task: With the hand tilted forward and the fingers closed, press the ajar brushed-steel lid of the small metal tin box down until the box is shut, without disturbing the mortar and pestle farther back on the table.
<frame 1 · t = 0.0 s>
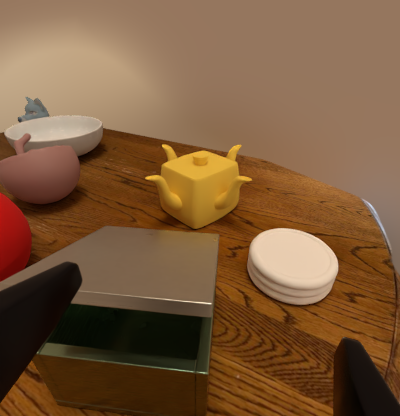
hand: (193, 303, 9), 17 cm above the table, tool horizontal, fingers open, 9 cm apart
serving bowl: (63, 154, 67), on the table
teapot: (200, 208, 46), on the table
coaster: (287, 274, 33), on the table
metal tin box: (151, 337, 26), on the table
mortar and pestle: (51, 200, 48), on the table
wolf head: (38, 134, 81), on the table
bin lid: (140, 256, 21), point 10 cm above the table, hinge at 22.0°
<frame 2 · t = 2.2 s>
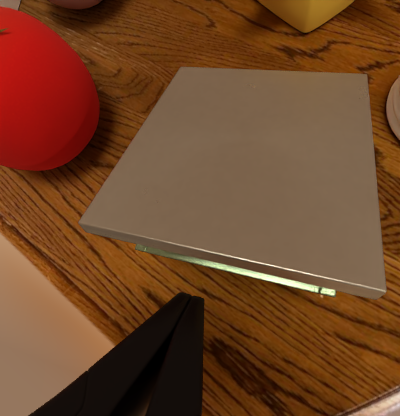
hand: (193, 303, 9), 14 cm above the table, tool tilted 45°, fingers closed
tomato: (66, 131, 30), on the table
metal tin box: (250, 201, 23), on the table
bin lid: (244, 142, 14), point 10 cm above the table, hinge at 22.0°
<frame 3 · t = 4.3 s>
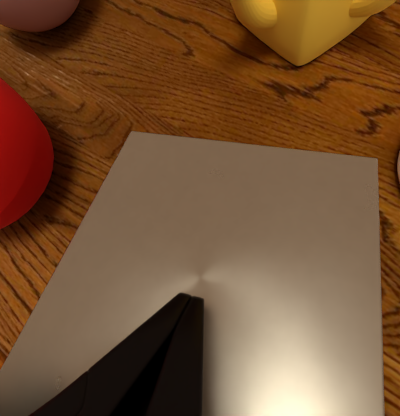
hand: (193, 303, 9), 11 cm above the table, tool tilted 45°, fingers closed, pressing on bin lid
teapot: (310, 7, 24), on the table
tomato: (20, 176, 26), on the table
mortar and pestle: (59, 16, 30), on the table
bin lid: (202, 280, 10), point 10 cm above the table, hinge at 15.9°, touching gripper
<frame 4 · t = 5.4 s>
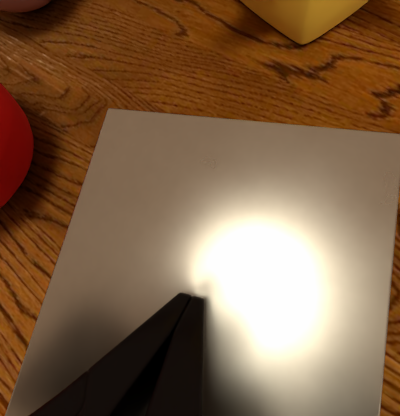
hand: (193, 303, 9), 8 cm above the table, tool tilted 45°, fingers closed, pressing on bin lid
bin lid: (198, 288, 10), point 8 cm above the table, hinge at -0.1°, touching gripper
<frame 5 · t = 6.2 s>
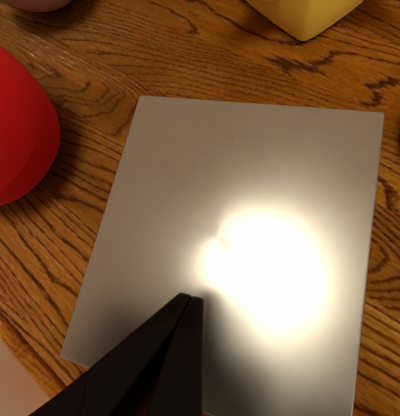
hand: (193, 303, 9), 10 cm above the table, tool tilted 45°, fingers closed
tomato: (26, 155, 26), on the table
bin lid: (219, 238, 12), point 8 cm above the table, hinge at -0.1°
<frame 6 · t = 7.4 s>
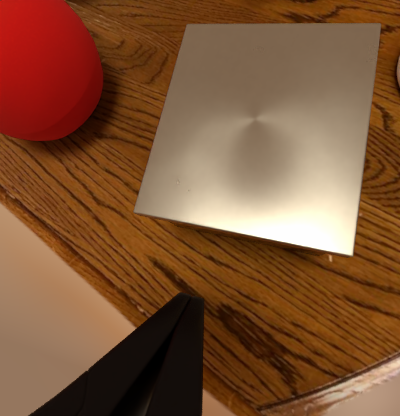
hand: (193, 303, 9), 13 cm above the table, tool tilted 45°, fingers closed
tomato: (69, 104, 30), on the table
metal tin box: (257, 168, 23), on the table
bin lid: (255, 122, 16), point 8 cm above the table, hinge at -0.1°
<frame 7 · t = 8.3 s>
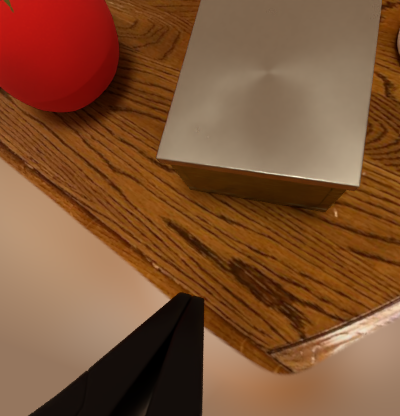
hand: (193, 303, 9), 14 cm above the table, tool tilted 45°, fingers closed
tomato: (84, 80, 31), on the table
metal tin box: (266, 134, 24), on the table
bin lid: (268, 76, 17), point 8 cm above the table, hinge at -0.1°
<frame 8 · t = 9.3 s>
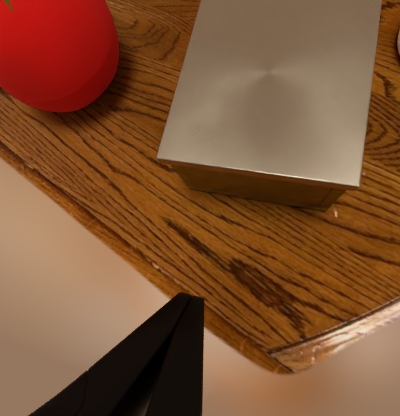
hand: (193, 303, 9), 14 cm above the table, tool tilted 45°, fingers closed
tomato: (84, 80, 31), on the table
metal tin box: (266, 134, 24), on the table
bin lid: (268, 76, 17), point 8 cm above the table, hinge at -0.1°
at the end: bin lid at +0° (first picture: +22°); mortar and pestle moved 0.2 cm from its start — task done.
